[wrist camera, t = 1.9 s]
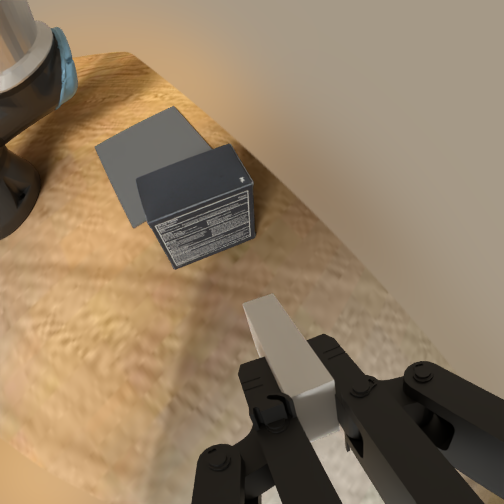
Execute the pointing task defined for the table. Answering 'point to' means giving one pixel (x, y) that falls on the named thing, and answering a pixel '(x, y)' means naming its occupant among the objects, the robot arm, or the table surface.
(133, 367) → the table surface
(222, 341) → the table surface
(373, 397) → the robot arm
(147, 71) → the table surface
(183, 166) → the small box
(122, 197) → the mat
